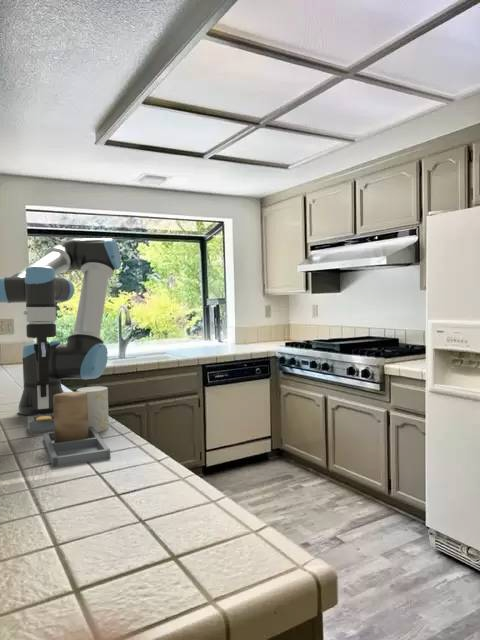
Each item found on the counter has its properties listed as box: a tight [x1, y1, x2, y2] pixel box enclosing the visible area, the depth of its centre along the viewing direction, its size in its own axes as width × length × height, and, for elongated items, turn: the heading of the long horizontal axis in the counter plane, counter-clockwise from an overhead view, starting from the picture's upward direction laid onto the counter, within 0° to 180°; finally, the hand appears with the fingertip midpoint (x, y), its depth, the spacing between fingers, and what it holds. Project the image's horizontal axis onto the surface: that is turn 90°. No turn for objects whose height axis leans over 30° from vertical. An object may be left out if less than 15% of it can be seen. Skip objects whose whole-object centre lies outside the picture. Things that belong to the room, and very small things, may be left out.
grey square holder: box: [27, 413, 54, 435], centre depth 132 cm, size 8×8×4 cm
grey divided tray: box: [43, 427, 111, 468], centre depth 113 cm, size 23×12×3 cm, turn 27°
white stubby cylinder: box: [76, 386, 110, 433], centre depth 131 cm, size 8×8×12 cm
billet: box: [53, 391, 90, 443], centre depth 118 cm, size 8×8×12 cm
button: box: [36, 416, 52, 421], centre depth 132 cm, size 4×4×3 cm
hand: (43, 408), depth 131 cm, fingers closed
